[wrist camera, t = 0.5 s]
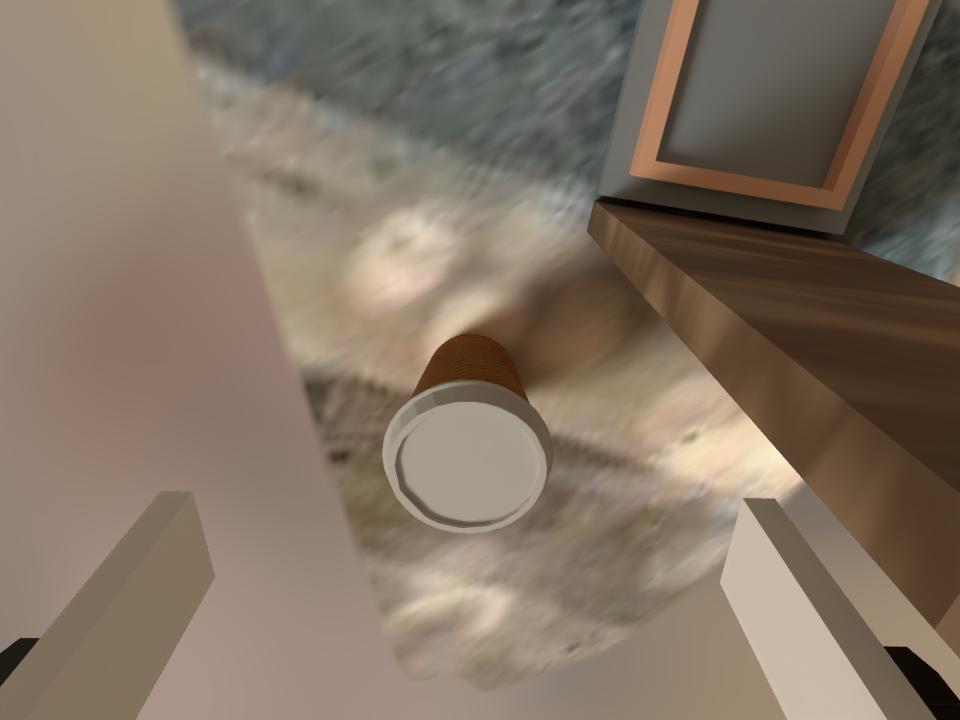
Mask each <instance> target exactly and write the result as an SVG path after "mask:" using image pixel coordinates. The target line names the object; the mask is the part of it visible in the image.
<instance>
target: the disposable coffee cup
mask: <svg viewBox="0 0 960 720" xmlns="http://www.w3.org/2000/svg"><path fill="white" fill-rule="evenodd" d="M382 455H383V463H384V469H385V471H386V474H387V477H388V479H389V482H390V483H391V486H392V489H393V491H394V493H395V495H396V497H397V498H398V500H399V501H400V502H401V503H402V505H403V506H404V507H405V508H406V509H407V510H408V511H409V512H410V513H411V514H413V515H414V516H415V517H416V518H418V519H419V520H421V521H423V522H424V523H426V524H428V525H431V526H433V527H436V528H439V529H442V530H446V531H450V532H456V533H479V532H487V531H490V530H494V529H497V528H501V527H503V526H505V525H507V524H509V523H512V522H513V521H515V520H517V519H518V518H520V517H521V516H522V515H523V514H524V513H526V512H527V511H528V510H529V509H530V508H531V507H532V506H533V504H534V503H535V501H536V500H537V499H538V497H539V495H540V493H541V491H542V489H543V487H544V485H545V484H546V482H547V480H548V477H549V474H550V472H551V468H552V462H553V446H552V441H551V437H550V434H549V431H548V428H547V426H546V424H545V422H544V421H543V419H542V418H541V416H540V415H539V413H538V412H537V411H536V410H535V409H534V408H533V407H532V406H531V405H530V403H529V401H528V399H527V396H526V394H525V392H524V390H523V387H522V385H521V383H520V380H519V378H518V376H517V374H516V371H515V369H514V367H513V364H512V362H511V359H510V357H509V355H508V354H507V353H506V351H505V350H504V349H503V348H502V347H501V346H500V345H499V344H498V343H496V342H494V341H493V340H491V339H489V338H486V337H483V336H478V335H463V336H458V337H455V338H453V339H451V340H448V341H447V342H445V343H444V344H442V345H441V346H440V347H439V348H438V349H437V350H436V352H435V353H434V355H433V356H432V358H431V360H430V362H429V364H428V366H427V367H426V369H425V371H424V373H423V375H422V377H421V379H420V381H419V383H418V385H417V387H416V389H415V391H414V392H413V394H412V396H411V398H410V400H409V401H407V402H406V403H405V404H404V405H403V406H402V407H401V409H400V410H399V411H398V412H397V413H396V414H395V416H394V417H393V419H392V421H391V422H390V425H389V427H388V430H387V432H386V434H385V437H384V444H383V452H382Z"/></svg>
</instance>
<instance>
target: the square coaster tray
mask: <svg viewBox="0 0 960 720" xmlns="http://www.w3.org/2000/svg"><path fill="white" fill-rule="evenodd" d="M942 1H943V0H642V1H641V5H640V9H639V14H638V18H637V22H636V26H635V31H634V35H633V39H632V43H631V48H630V52H629V56H628V60H627V65H626V69H625V73H624V77H623V82H622V86H621V90H620V94H619V99H618V103H617V107H616V111H615V116H614V120H613V124H612V128H611V133H610V137H609V141H608V145H607V150H606V154H605V158H604V162H603V167H602V171H601V175H600V179H599V183H598V188H597V192H596V193H597V194H599V195H603V196H609V197H615V198H621V199H627V200H633V201H639V202H645V203H651V204H657V205H663V206H670V207H676V208H682V209H688V210H694V211H700V212H706V213H712V214H718V215H724V216H730V217H736V218H742V219H748V220H754V221H761V222H767V223H773V224H779V225H785V226H791V227H797V228H803V229H809V230H815V231H821V232H827V233H833V234H839V235H843V233H844V231H845V228H846V226H847V224H848V221H849V219H850V217H851V214H852V212H853V210H854V207H855V205H856V203H857V200H858V198H859V196H860V193H861V191H862V189H863V186H864V184H865V182H866V179H867V177H868V175H869V172H870V170H871V167H872V165H873V163H874V160H875V158H876V156H877V153H878V151H879V149H880V146H881V144H882V142H883V139H884V137H885V135H886V132H887V130H888V128H889V125H890V123H891V121H892V118H893V116H894V114H895V111H896V109H897V107H898V104H899V102H900V100H901V97H902V95H903V92H904V90H905V88H906V85H907V83H908V81H909V78H910V76H911V74H912V71H913V69H914V67H915V64H916V62H917V60H918V57H919V55H920V53H921V50H922V48H923V46H924V43H925V41H926V39H927V36H928V34H929V32H930V29H931V27H932V25H933V22H934V20H935V17H936V15H937V13H938V10H939V8H940V6H941V3H942Z"/></svg>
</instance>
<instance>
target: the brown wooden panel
mask: <svg viewBox="0 0 960 720" xmlns="http://www.w3.org/2000/svg"><path fill="white" fill-rule="evenodd" d="M587 232H588V233H589V234H590V235H591V237H592V238H593V239H594V240H595V241H596V242H597V244H598V245H599V246H600V247H601V248H602V249H603V250H604V252H605V253H606V254H607V255H608V256H609V257H610V258H611V260H612V261H613V262H614V263H615V264H616V265H617V266H618V268H619V269H620V270H621V271H622V272H623V273H624V274H625V276H626V277H627V278H628V279H629V280H630V281H631V282H632V284H633V285H634V286H635V287H636V288H637V289H638V291H639V292H640V293H641V294H642V295H643V296H644V297H645V299H646V300H647V301H648V302H649V303H650V304H651V305H652V307H653V308H654V309H655V310H656V311H657V312H658V313H659V315H660V316H661V317H662V318H663V319H664V320H665V321H666V323H667V324H668V325H669V326H670V327H671V328H672V329H673V331H674V332H675V333H676V334H677V335H678V336H679V337H680V339H681V340H682V341H683V342H684V343H685V344H686V346H687V347H688V348H689V349H690V350H691V351H692V352H693V354H694V355H695V356H696V357H697V358H698V359H699V360H700V362H701V363H702V364H703V365H704V366H705V367H706V368H707V370H708V371H709V372H710V373H711V374H712V375H713V376H714V378H715V379H716V380H717V381H718V382H719V383H720V384H721V386H722V387H723V388H724V389H725V390H726V391H727V393H728V394H729V395H730V396H731V397H732V398H733V399H734V401H735V402H736V403H737V404H738V405H739V406H740V407H741V409H742V410H743V411H744V412H745V413H746V414H747V415H748V417H749V418H750V419H751V420H752V421H753V422H754V423H755V425H756V426H757V427H758V428H759V429H760V430H761V431H762V433H763V434H764V435H765V436H766V437H767V438H768V440H769V441H770V442H771V443H772V444H773V445H774V446H775V448H776V449H777V450H778V451H779V452H780V453H781V454H782V456H783V457H784V458H785V459H786V460H787V461H788V462H789V464H790V465H791V466H792V467H793V468H794V469H795V470H796V472H797V473H798V474H799V475H800V476H801V477H802V478H803V480H804V481H805V482H806V483H807V484H808V485H809V487H810V488H811V489H812V490H813V491H814V492H815V493H816V495H817V496H818V497H819V498H820V499H821V500H822V501H823V502H824V503H825V505H826V506H827V507H828V508H829V509H830V511H831V512H832V513H833V514H834V515H835V516H836V517H837V519H838V520H839V521H840V522H841V523H842V524H843V525H844V527H845V528H846V529H847V530H848V531H849V532H850V533H851V535H853V537H854V538H855V539H856V540H857V541H858V543H859V544H860V545H861V546H862V547H863V548H864V550H865V551H866V552H867V553H868V554H869V555H870V556H871V558H872V559H873V560H874V561H875V562H876V563H877V564H878V566H879V567H881V569H882V570H883V571H884V572H885V573H886V575H887V576H888V577H889V578H890V579H891V580H892V582H893V583H894V584H895V585H896V586H897V587H898V589H899V590H900V591H901V592H902V593H903V594H904V595H905V597H906V598H907V599H908V600H909V601H910V602H911V603H912V605H913V606H914V607H915V608H916V609H917V610H918V611H919V613H920V614H921V615H922V616H923V617H924V618H925V619H926V621H927V622H928V623H929V624H930V625H931V626H932V627H933V629H934V630H935V631H936V632H937V633H938V634H939V635H940V637H941V638H942V639H943V640H944V641H945V642H946V644H947V645H948V646H949V647H950V648H951V649H952V650H953V652H954V653H955V654H956V655H957V656H958V657H959V658H960V287H957V286H955V285H952V284H949V283H946V282H944V281H941V280H938V279H936V278H933V277H930V276H928V275H925V274H922V273H920V272H917V271H914V270H911V269H909V268H906V267H903V266H901V265H898V264H895V263H893V262H890V261H887V260H885V259H882V258H879V257H876V256H874V255H871V254H868V253H866V252H863V251H860V250H858V249H855V248H852V247H850V246H847V245H844V244H841V243H839V242H836V241H833V240H831V239H825V238H819V237H813V236H807V235H801V234H794V233H788V232H782V231H776V230H770V229H764V228H758V227H752V226H746V225H740V224H733V223H727V222H721V221H715V220H709V219H703V218H697V217H691V216H685V215H679V214H673V213H666V212H660V211H654V210H648V209H642V208H636V207H630V206H624V205H618V204H612V203H605V202H599V201H594V205H593V209H592V213H591V217H590V222H589V226H588V230H587Z"/></svg>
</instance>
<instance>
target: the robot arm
mask: <svg viewBox="0 0 960 720" xmlns="http://www.w3.org/2000/svg"><path fill="white" fill-rule="evenodd" d="M214 578H215V574H214V571H213V567H212V563H211V559H210V555H209V551H208V547H207V544H206V540H205V536H204V532H203V529H202V525H201V521H200V517H199V513H198V509H197V505H196V502H195V498H194V494H193V492H179V491H176V492H175V491H161V492H160V493H159V494H158V495H157V496H156V498H155V499H154V500H153V501H152V503H151V504H150V505H149V506H148V507H147V509H146V510H145V511H144V512H143V514H142V515H141V516H140V517H139V518H138V520H137V521H136V522H135V523H134V525H133V526H132V527H131V528H130V529H129V531H128V532H127V533H126V534H125V536H124V537H123V538H122V539H121V540H120V542H119V543H118V544H117V545H116V547H115V548H114V549H113V551H111V553H110V554H109V555H108V556H107V558H106V559H105V560H104V561H103V563H102V564H101V565H100V566H99V567H98V569H97V570H96V571H95V572H94V573H93V575H92V576H91V577H90V578H89V579H88V581H87V582H86V583H85V584H84V586H83V587H82V588H81V589H80V591H79V592H78V593H77V594H76V595H75V597H74V598H73V599H72V600H71V601H70V603H69V604H68V605H67V607H66V608H65V609H64V610H63V611H62V612H61V614H60V615H59V616H58V617H57V618H56V620H55V621H54V622H53V623H52V625H51V626H50V627H49V628H48V630H47V631H46V632H45V633H44V634H43V636H42V637H41V638H20V639H19V640H17V641H16V642H14V643H13V644H12V645H11V646H9V647H8V648H7V649H5V650H4V651H3V652H1V653H0V720H135V719H136V718H137V716H138V714H139V712H140V710H141V708H142V707H143V705H144V703H145V701H146V700H147V698H148V696H149V694H150V693H151V690H152V689H153V687H154V685H155V684H156V682H157V680H158V678H159V676H160V675H161V673H162V671H163V669H164V667H165V666H166V664H167V662H168V660H169V659H170V657H171V655H172V653H173V651H174V650H175V648H176V646H177V644H178V642H179V640H180V639H181V637H182V635H183V633H184V632H185V630H186V628H187V626H188V625H189V623H190V621H191V619H192V617H193V616H194V614H195V612H196V610H197V608H198V607H199V605H200V603H201V601H202V599H203V597H204V596H205V594H206V592H207V590H208V589H209V587H210V585H211V583H212V582H213V580H214ZM720 584H721V586H722V588H723V590H724V592H725V594H726V596H727V598H728V600H729V602H730V604H731V606H732V608H733V610H734V612H735V614H736V617H737V618H738V620H739V623H740V625H741V627H742V629H743V631H744V633H745V635H746V637H747V639H748V641H749V643H750V645H751V647H752V649H753V651H754V653H755V655H756V657H757V659H758V661H759V663H760V665H761V667H762V669H763V671H764V673H765V675H766V678H767V680H768V682H769V684H770V686H771V687H772V690H773V692H774V694H775V696H776V698H777V700H778V702H779V704H780V706H781V708H782V710H783V712H784V714H785V716H786V718H787V720H960V700H959V699H958V697H957V696H956V695H955V694H954V692H953V691H952V690H951V689H950V688H949V686H948V685H947V684H946V682H945V681H944V680H943V679H942V677H941V676H940V675H939V673H938V672H936V671H935V670H934V669H933V668H932V667H930V666H929V665H928V664H927V663H926V662H924V661H923V660H922V659H921V658H919V657H918V656H917V655H916V654H915V653H913V652H912V651H911V650H910V649H909V648H907V647H888V646H886V647H885V646H882V644H881V643H880V642H879V640H878V639H877V638H876V636H875V635H874V634H873V632H872V631H871V630H870V628H869V627H868V625H867V624H866V623H865V621H864V620H863V619H862V617H861V616H860V614H859V613H858V612H857V610H856V609H855V608H854V606H853V605H852V603H851V602H850V601H849V599H848V598H847V597H846V595H845V594H844V593H843V592H842V590H841V588H840V587H839V586H838V584H837V583H836V582H835V581H834V579H833V578H832V576H831V575H830V574H829V572H828V571H827V569H826V568H825V567H824V565H823V564H822V563H821V561H820V560H819V558H818V557H817V556H816V554H815V553H814V552H813V550H812V549H811V548H810V546H809V545H808V543H807V542H806V541H805V539H804V538H803V537H802V535H801V534H800V533H799V531H798V530H797V528H796V527H795V526H794V525H793V523H792V522H791V520H790V519H789V517H788V516H787V515H786V513H785V512H784V511H783V509H782V508H781V507H780V505H779V504H778V502H777V501H776V500H775V499H762V498H743V499H742V503H741V506H740V510H739V514H738V517H737V521H736V525H735V529H734V532H733V536H732V540H731V543H730V547H729V551H728V554H727V558H726V562H725V566H724V569H723V573H722V577H721V581H720Z"/></svg>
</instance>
